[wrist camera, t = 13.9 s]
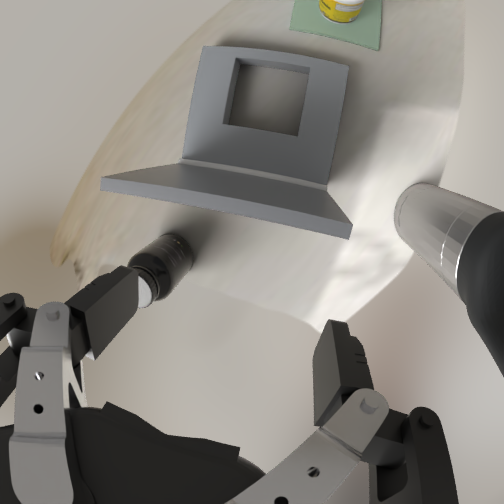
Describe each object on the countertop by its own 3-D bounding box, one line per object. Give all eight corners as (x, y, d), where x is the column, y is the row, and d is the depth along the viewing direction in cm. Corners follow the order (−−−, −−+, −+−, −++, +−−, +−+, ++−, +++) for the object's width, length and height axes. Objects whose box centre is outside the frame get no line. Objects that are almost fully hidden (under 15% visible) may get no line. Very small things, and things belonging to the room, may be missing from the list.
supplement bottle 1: (181, 282, 42) (147, 326, 31) (147, 257, 41) (104, 292, 30) (203, 250, 40) (169, 289, 28) (166, 223, 39) (121, 252, 28)
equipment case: (344, 72, 28) (388, 6, 10) (321, 194, 34) (348, 239, 17) (210, 52, 29) (141, -11, 12) (188, 168, 36) (100, 190, 18)
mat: (380, 0, 22) (381, -1, 22) (377, 51, 26) (378, 49, 25) (299, -19, 23) (299, -21, 22) (289, 29, 27) (289, 28, 26)
